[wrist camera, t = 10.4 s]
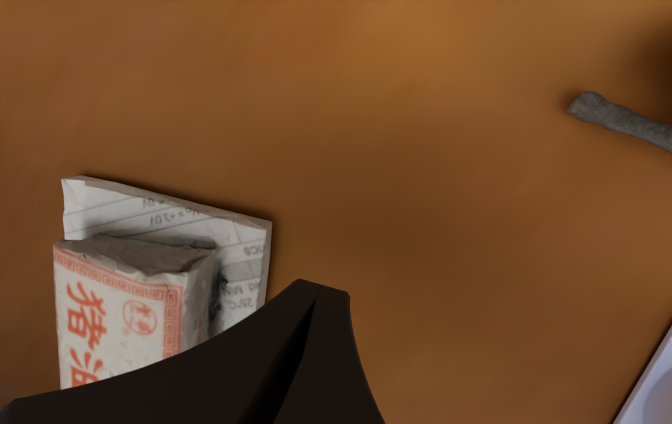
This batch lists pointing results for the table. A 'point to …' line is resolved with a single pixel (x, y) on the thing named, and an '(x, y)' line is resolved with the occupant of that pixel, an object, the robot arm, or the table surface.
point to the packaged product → (148, 276)
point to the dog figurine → (620, 119)
